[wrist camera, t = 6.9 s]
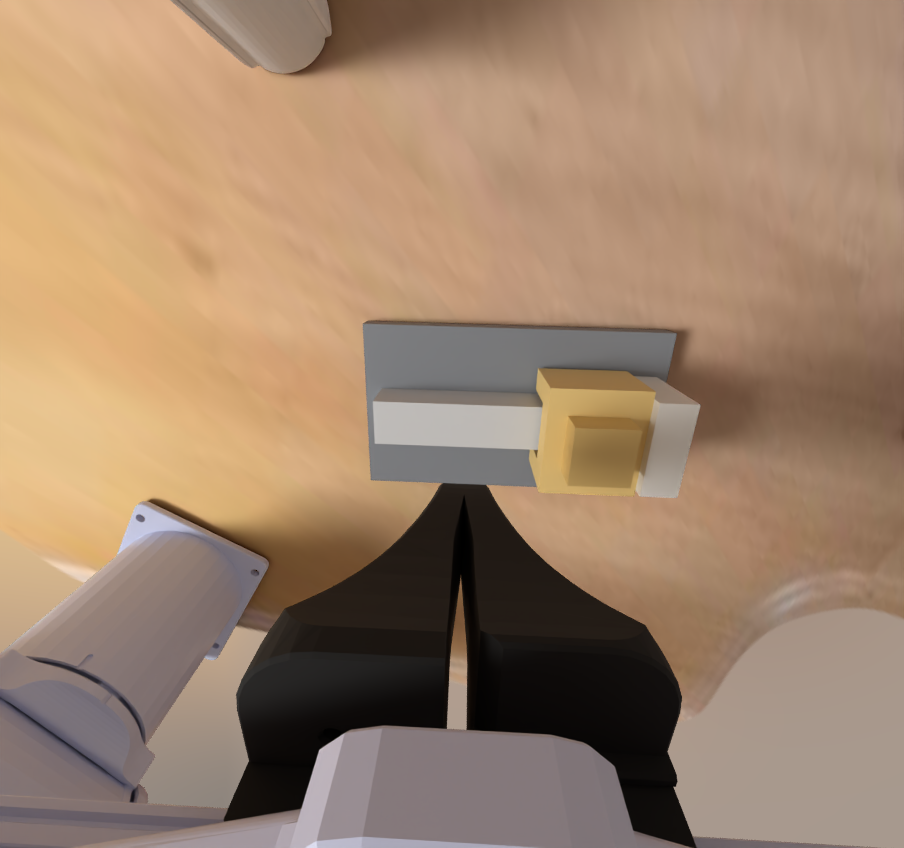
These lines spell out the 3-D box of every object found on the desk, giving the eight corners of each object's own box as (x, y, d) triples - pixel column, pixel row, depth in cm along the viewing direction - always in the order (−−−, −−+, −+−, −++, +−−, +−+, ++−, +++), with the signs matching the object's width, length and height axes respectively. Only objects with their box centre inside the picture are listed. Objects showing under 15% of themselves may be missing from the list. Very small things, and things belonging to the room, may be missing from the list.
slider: (528, 459, 21) (543, 509, 17) (538, 368, 19) (556, 398, 15) (610, 462, 21) (646, 513, 17) (626, 371, 19) (671, 402, 15)
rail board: (374, 471, 23) (350, 525, 18) (367, 320, 20) (336, 339, 15) (635, 481, 23) (678, 539, 18) (667, 329, 20) (728, 351, 15)
